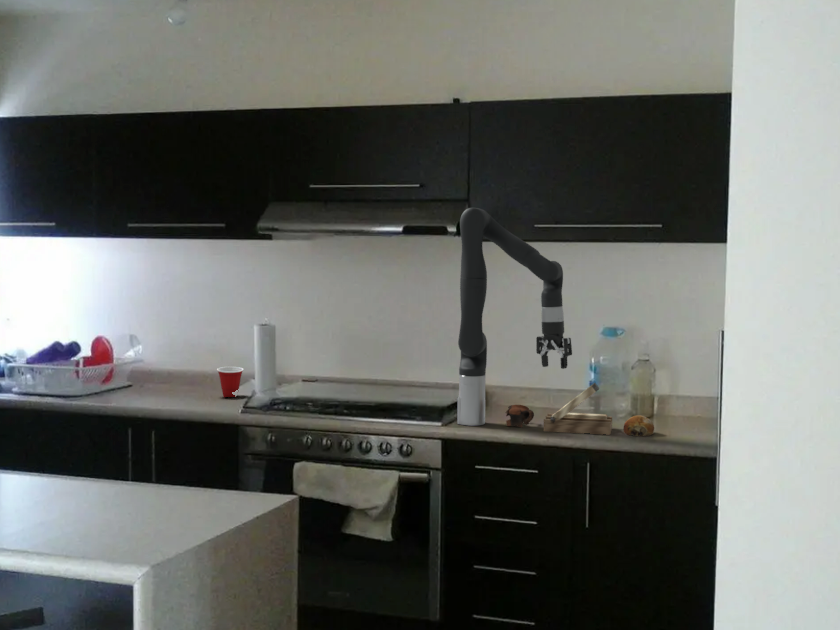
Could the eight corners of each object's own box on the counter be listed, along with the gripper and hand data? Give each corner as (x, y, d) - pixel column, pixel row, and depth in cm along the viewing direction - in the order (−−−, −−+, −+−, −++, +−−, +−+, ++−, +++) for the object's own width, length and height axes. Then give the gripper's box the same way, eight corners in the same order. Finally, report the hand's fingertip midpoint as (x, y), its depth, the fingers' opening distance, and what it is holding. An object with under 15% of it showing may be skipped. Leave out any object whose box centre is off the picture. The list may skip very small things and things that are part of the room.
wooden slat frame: (543, 431, 308) (543, 416, 308) (547, 424, 320) (547, 410, 319) (610, 434, 303) (610, 420, 302) (611, 428, 314) (612, 414, 314)
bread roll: (656, 445, 304) (662, 422, 306) (641, 436, 297) (647, 412, 299) (631, 441, 311) (637, 418, 313) (615, 431, 304) (621, 409, 306)
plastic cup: (220, 399, 371) (220, 370, 371) (214, 395, 381) (214, 367, 380) (246, 398, 376) (246, 369, 375) (240, 394, 386) (240, 366, 385)
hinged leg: (552, 424, 309) (548, 419, 309) (553, 423, 312) (549, 417, 312) (598, 389, 304) (594, 383, 304) (599, 388, 307) (594, 382, 308)
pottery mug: (498, 427, 318) (500, 405, 322) (515, 436, 324) (517, 414, 328) (525, 422, 310) (527, 400, 314) (542, 431, 316) (544, 409, 320)
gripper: (529, 320, 313) (531, 367, 314) (560, 321, 302) (562, 370, 303) (545, 318, 318) (547, 364, 319) (576, 319, 306) (577, 367, 308)
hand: (554, 367), depth 311 cm, fingers open, 8 cm apart
